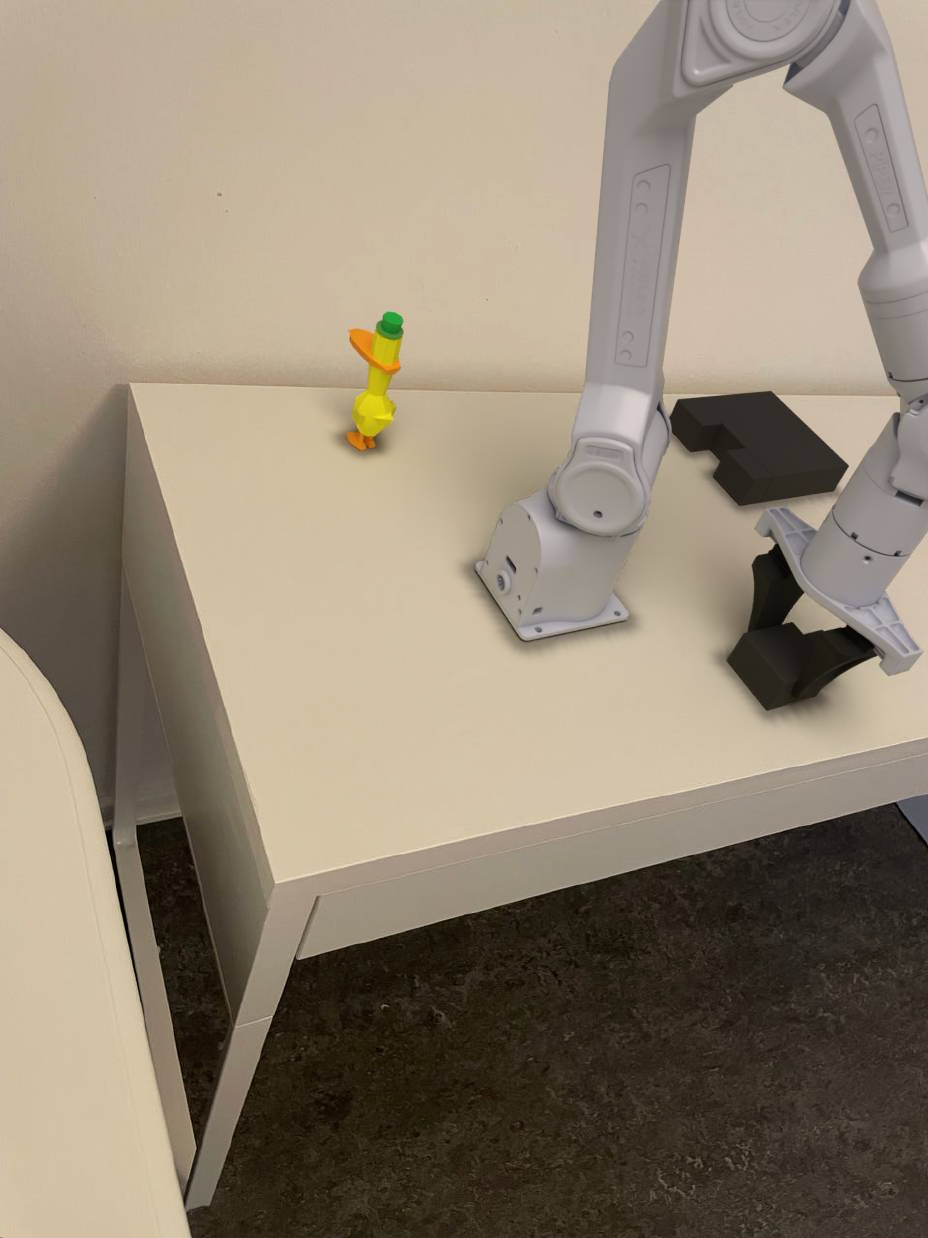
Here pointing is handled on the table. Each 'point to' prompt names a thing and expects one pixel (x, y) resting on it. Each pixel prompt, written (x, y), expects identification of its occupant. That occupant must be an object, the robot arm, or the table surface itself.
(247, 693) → the table surface
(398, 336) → the toy figure
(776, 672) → the dark brown stepped block
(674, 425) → the big pad
